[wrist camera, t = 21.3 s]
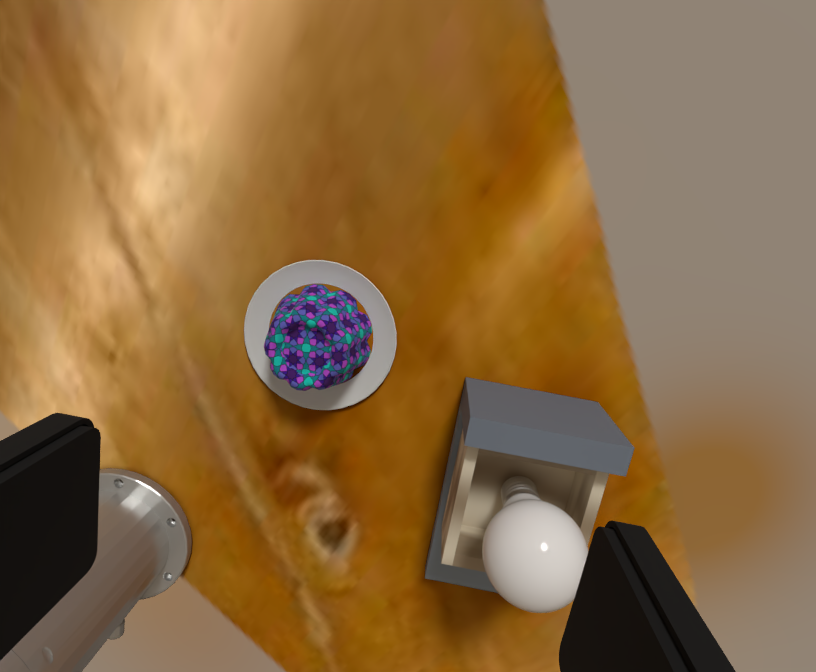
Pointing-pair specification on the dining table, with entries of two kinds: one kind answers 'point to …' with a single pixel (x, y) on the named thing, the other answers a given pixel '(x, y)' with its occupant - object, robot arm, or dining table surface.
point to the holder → (481, 498)
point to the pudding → (319, 335)
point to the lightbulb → (533, 550)
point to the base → (526, 446)
